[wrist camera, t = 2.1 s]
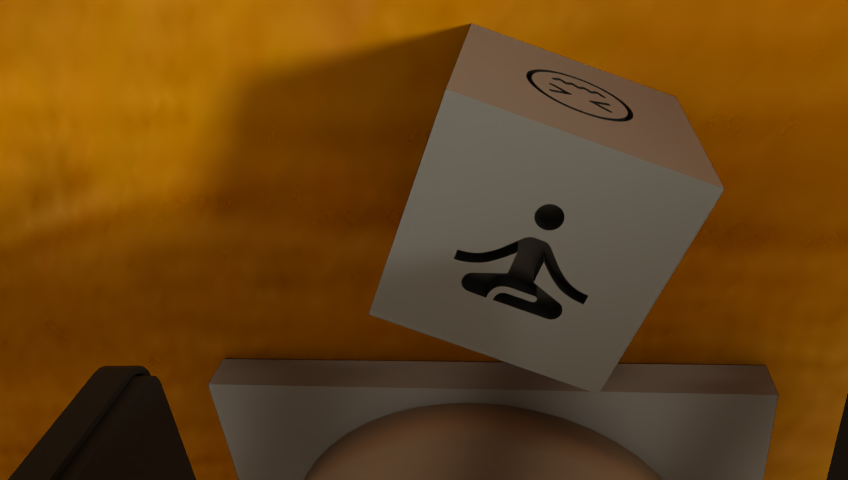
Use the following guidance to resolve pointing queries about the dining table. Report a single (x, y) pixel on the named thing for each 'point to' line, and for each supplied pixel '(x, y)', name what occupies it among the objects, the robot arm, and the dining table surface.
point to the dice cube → (545, 211)
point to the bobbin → (491, 421)
